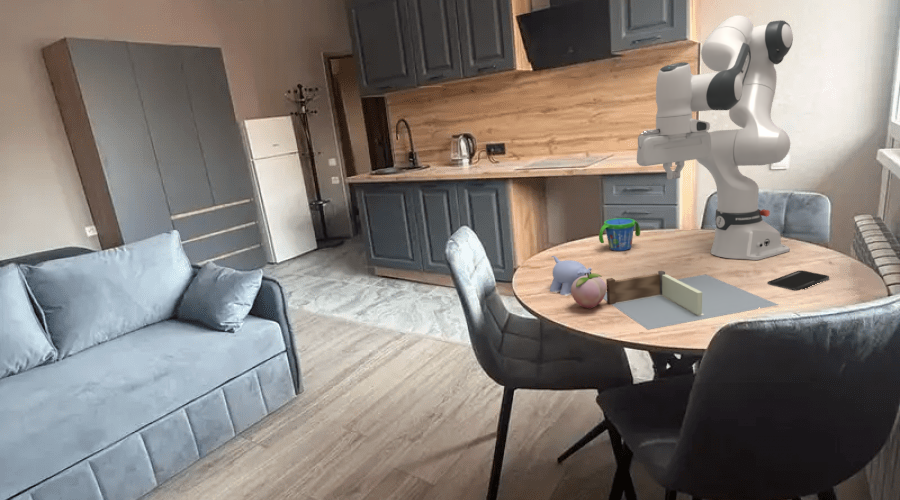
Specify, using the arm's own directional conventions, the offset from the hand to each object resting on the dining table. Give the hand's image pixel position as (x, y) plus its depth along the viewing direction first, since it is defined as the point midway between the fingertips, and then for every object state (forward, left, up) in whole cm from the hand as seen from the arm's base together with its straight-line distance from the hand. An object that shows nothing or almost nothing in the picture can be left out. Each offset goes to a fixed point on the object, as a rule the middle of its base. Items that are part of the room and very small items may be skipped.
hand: (673, 178), depth 136 cm
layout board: (+8, +15, -29) cm, 34 cm away
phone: (-25, +17, -30) cm, 42 cm away
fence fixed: (+17, +10, -29) cm, 35 cm away
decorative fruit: (+31, +10, -29) cm, 44 cm away
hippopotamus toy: (+29, -4, -30) cm, 41 cm away
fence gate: (+10, +19, -28) cm, 35 cm away
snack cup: (-3, -36, -29) cm, 47 cm away
